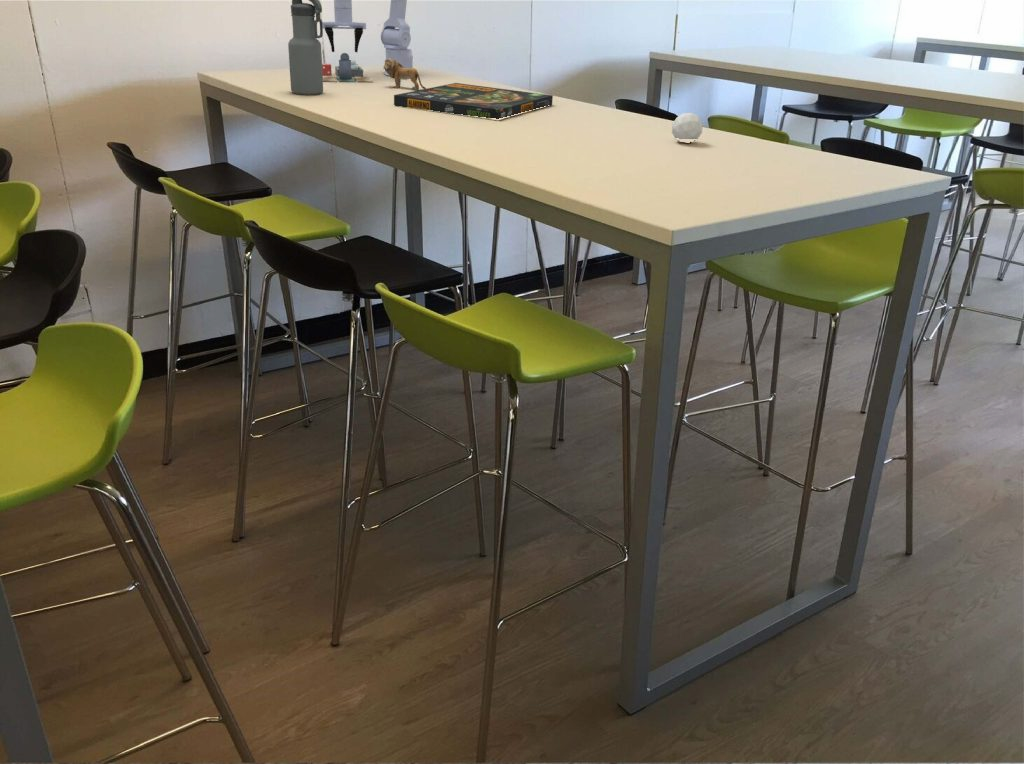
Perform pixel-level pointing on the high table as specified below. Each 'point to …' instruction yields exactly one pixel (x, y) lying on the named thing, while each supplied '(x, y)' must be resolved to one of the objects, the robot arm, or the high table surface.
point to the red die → (326, 69)
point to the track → (358, 79)
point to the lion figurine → (401, 73)
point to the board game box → (473, 100)
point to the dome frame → (353, 71)
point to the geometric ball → (687, 126)
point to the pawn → (345, 67)
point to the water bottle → (306, 49)
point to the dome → (354, 65)
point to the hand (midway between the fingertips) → (344, 51)
